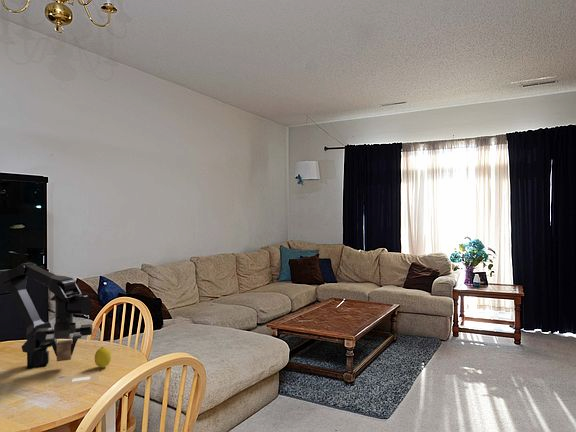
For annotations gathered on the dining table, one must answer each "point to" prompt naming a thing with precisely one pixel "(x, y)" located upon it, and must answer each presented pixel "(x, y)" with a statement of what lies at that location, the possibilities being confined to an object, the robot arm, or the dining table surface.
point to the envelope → (76, 378)
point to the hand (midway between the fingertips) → (64, 355)
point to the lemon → (102, 357)
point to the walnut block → (64, 350)
